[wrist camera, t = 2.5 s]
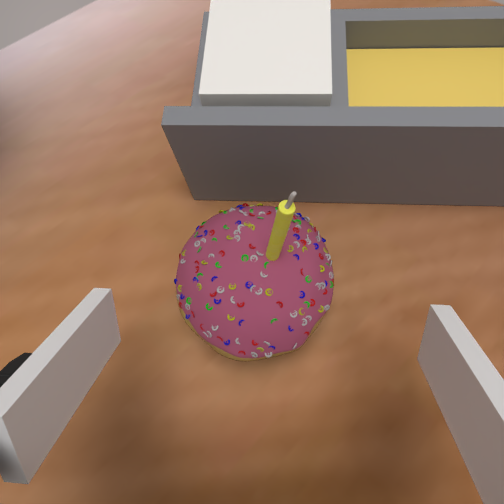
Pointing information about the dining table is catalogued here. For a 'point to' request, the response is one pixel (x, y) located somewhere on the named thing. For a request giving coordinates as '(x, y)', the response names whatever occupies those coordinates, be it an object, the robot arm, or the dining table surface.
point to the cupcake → (255, 281)
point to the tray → (366, 119)
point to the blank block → (267, 53)
